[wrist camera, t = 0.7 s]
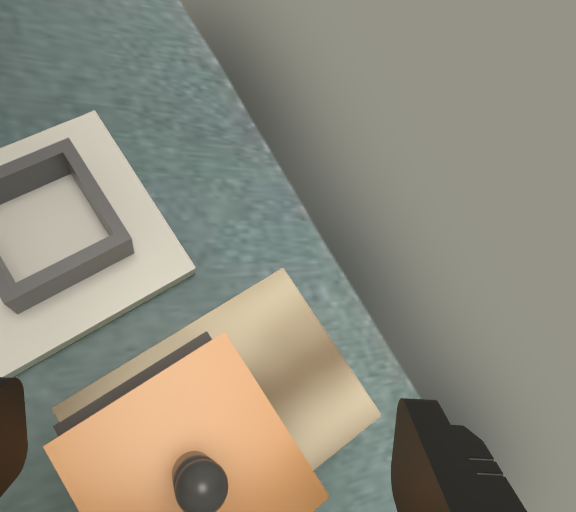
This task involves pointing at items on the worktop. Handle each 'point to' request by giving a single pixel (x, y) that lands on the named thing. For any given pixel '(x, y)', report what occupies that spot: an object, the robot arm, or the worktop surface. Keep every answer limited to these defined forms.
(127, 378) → the upper block
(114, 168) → the lower plate
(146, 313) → the worktop surface
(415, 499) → the robot arm
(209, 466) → the plug
